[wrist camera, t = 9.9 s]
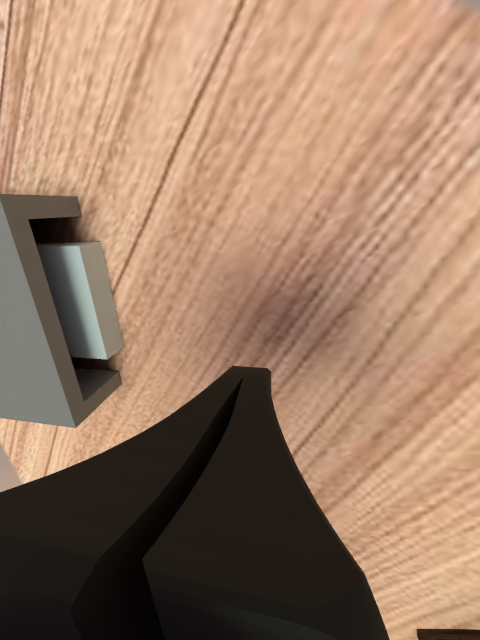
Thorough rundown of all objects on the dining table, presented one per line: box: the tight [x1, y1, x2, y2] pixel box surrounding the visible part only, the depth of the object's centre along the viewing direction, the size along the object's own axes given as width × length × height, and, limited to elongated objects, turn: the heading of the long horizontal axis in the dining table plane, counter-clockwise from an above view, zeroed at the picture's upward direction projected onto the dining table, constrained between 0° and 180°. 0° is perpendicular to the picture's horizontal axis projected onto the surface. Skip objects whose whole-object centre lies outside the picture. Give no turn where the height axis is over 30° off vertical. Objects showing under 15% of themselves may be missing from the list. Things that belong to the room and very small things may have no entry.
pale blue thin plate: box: [36, 242, 124, 359], centre depth 21 cm, size 8×9×2 cm
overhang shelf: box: [0, 194, 121, 428], centre depth 20 cm, size 14×10×5 cm, turn 3°
